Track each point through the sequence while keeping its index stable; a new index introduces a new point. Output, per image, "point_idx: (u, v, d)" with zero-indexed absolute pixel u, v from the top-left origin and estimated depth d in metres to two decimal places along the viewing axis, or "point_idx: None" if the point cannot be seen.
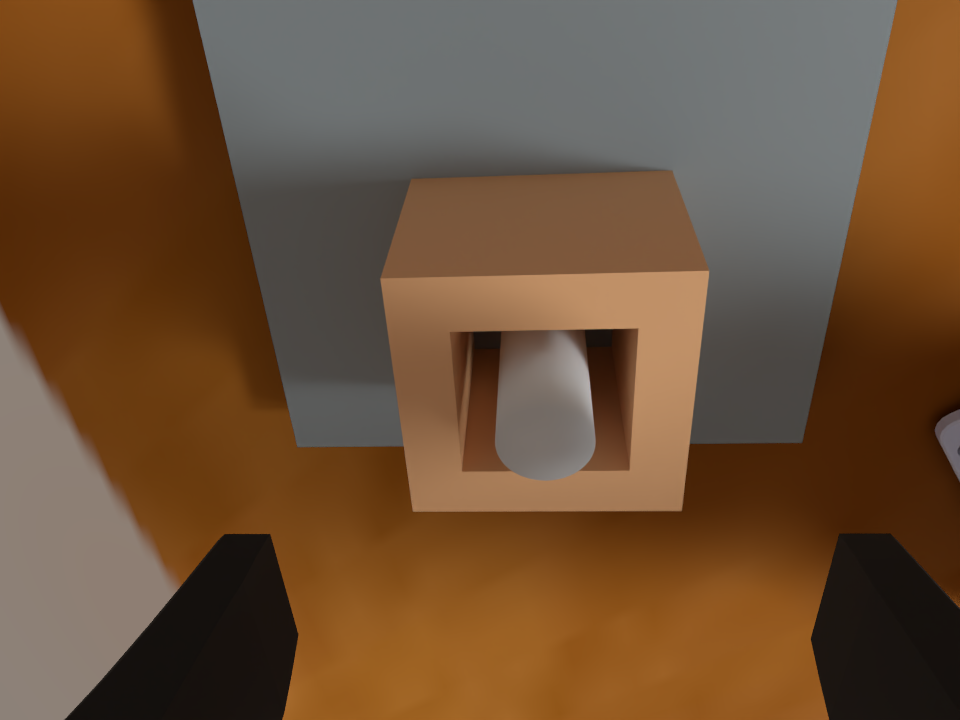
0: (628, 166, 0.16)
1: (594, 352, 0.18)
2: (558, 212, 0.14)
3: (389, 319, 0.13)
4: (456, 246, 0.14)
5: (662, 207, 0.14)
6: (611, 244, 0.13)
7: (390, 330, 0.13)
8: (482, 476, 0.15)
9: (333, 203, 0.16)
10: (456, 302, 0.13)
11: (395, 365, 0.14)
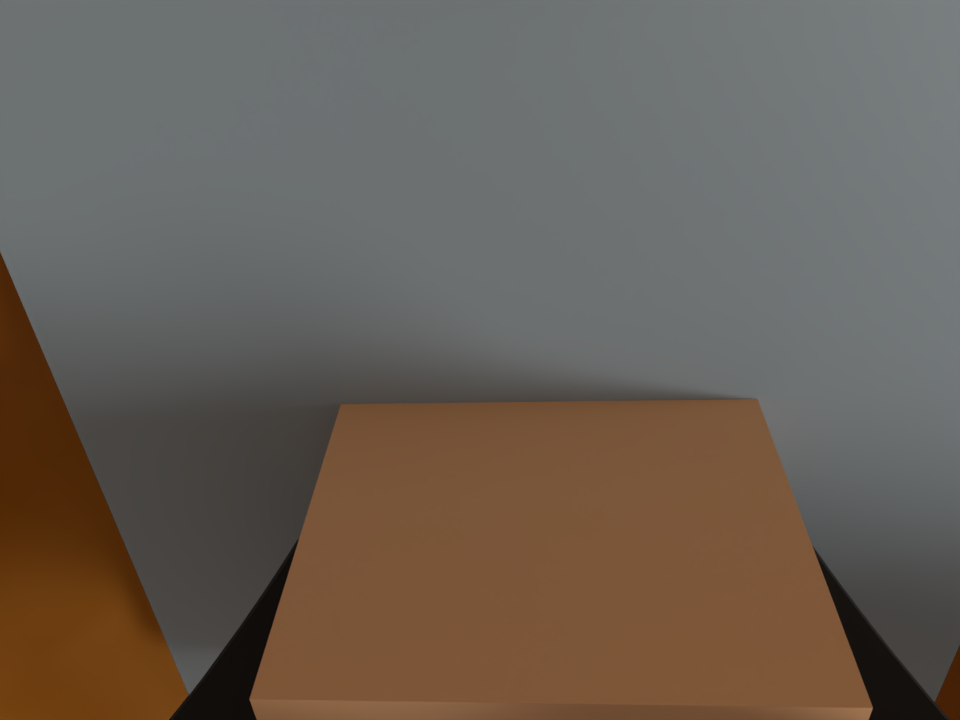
0: (687, 392, 0.10)
1: None
2: (577, 505, 0.08)
3: None
4: (398, 599, 0.08)
5: (754, 498, 0.08)
6: (675, 608, 0.07)
7: None
8: None
9: (221, 434, 0.10)
10: None
11: None
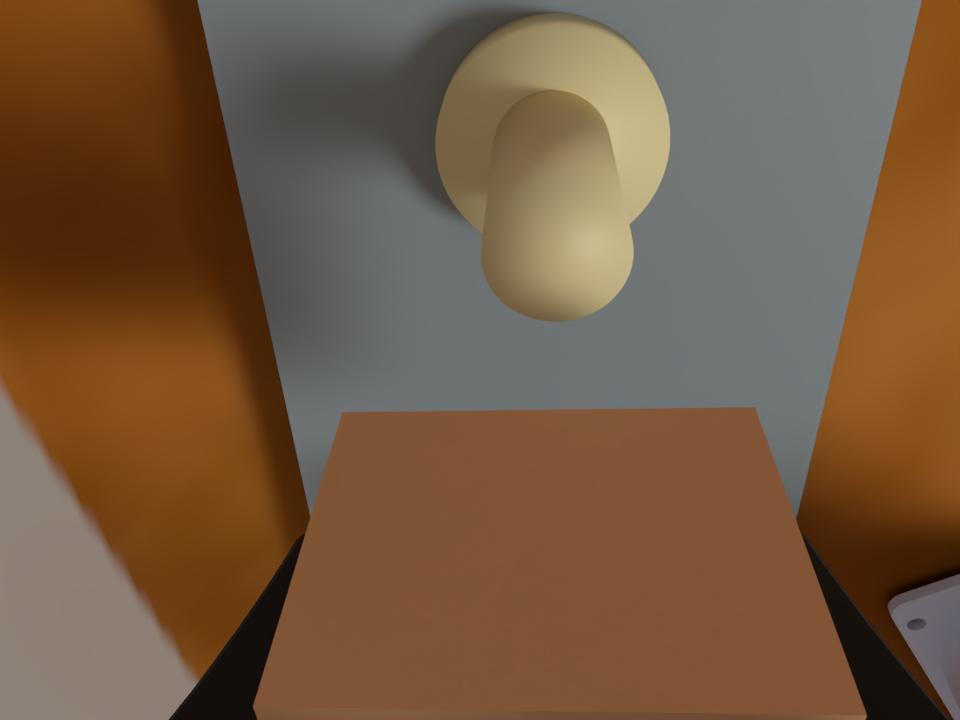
0: None
1: None
2: (576, 513, 0.09)
3: None
4: (399, 607, 0.08)
5: (751, 507, 0.09)
6: (672, 617, 0.07)
7: None
8: None
9: None
10: None
11: None
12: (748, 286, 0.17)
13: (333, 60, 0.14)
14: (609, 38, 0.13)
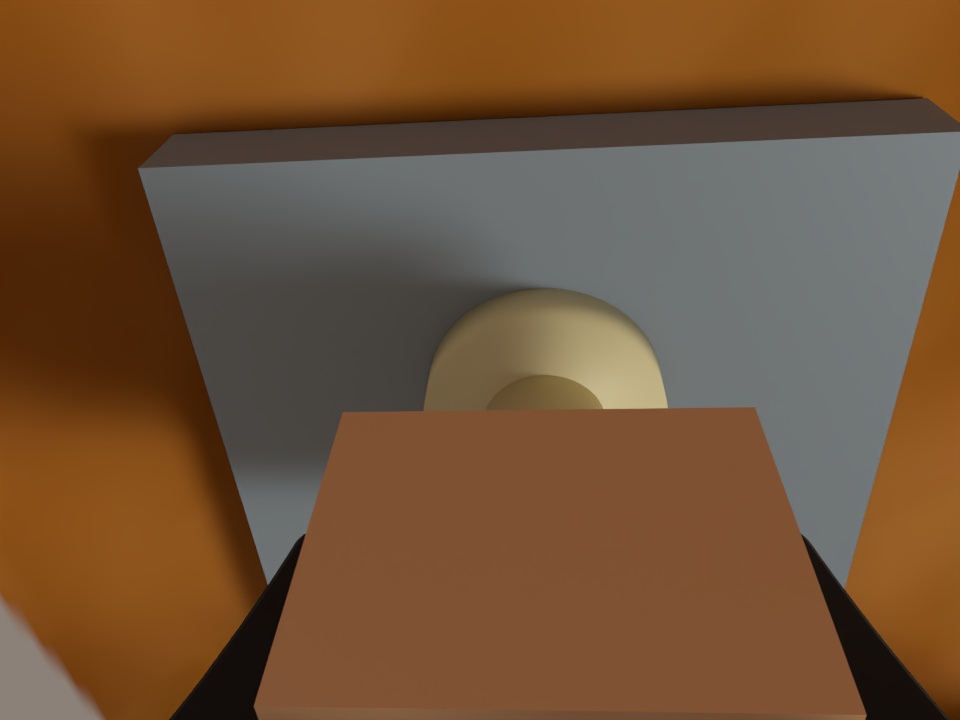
0: None
1: None
2: (576, 513, 0.09)
3: None
4: (399, 607, 0.08)
5: (751, 506, 0.09)
6: (672, 615, 0.07)
7: None
8: None
9: None
10: None
11: None
12: None
13: (315, 330, 0.14)
14: (602, 329, 0.13)
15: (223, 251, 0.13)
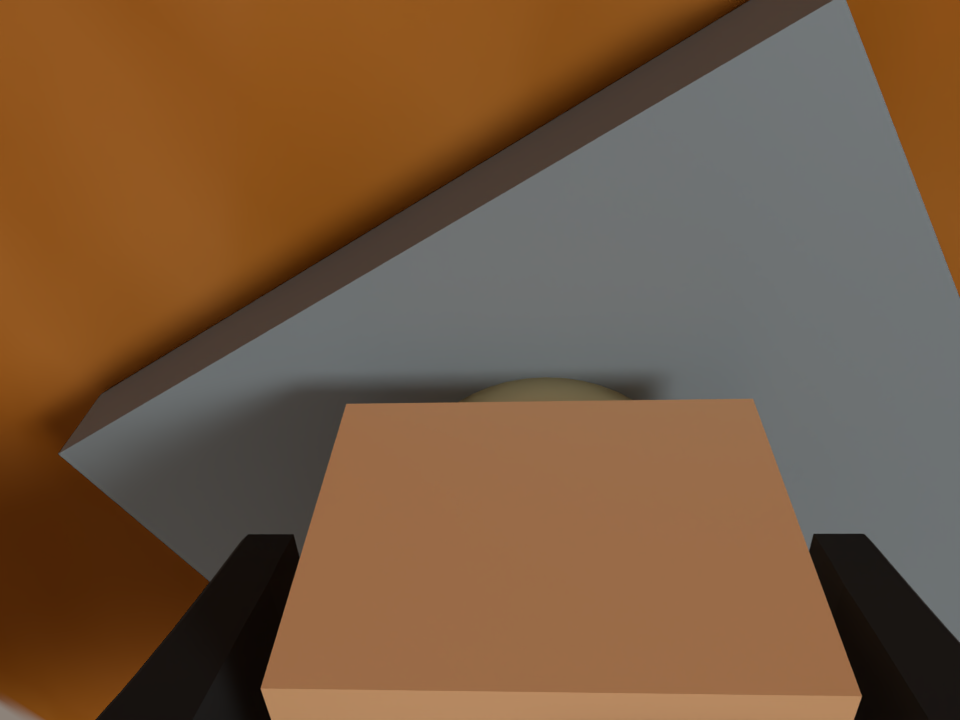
0: None
1: None
2: (577, 501, 0.09)
3: None
4: (403, 592, 0.08)
5: (749, 495, 0.09)
6: (672, 601, 0.08)
7: None
8: None
9: None
10: None
11: None
12: (883, 526, 0.12)
13: (295, 522, 0.13)
14: None
15: (171, 489, 0.13)
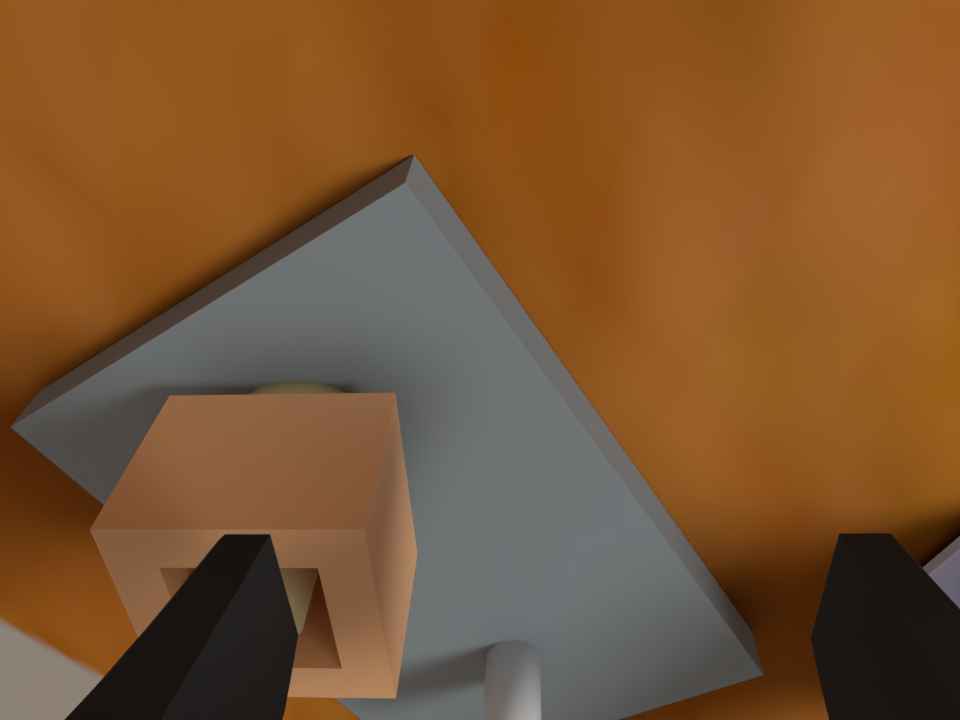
0: (515, 587, 0.23)
1: None
2: (274, 446, 0.16)
3: (105, 557, 0.15)
4: (170, 489, 0.16)
5: (364, 443, 0.16)
6: (299, 492, 0.15)
7: (108, 565, 0.15)
8: None
9: None
10: (158, 547, 0.15)
11: (120, 590, 0.16)
12: (518, 472, 0.20)
13: None
14: None
15: (81, 450, 0.21)
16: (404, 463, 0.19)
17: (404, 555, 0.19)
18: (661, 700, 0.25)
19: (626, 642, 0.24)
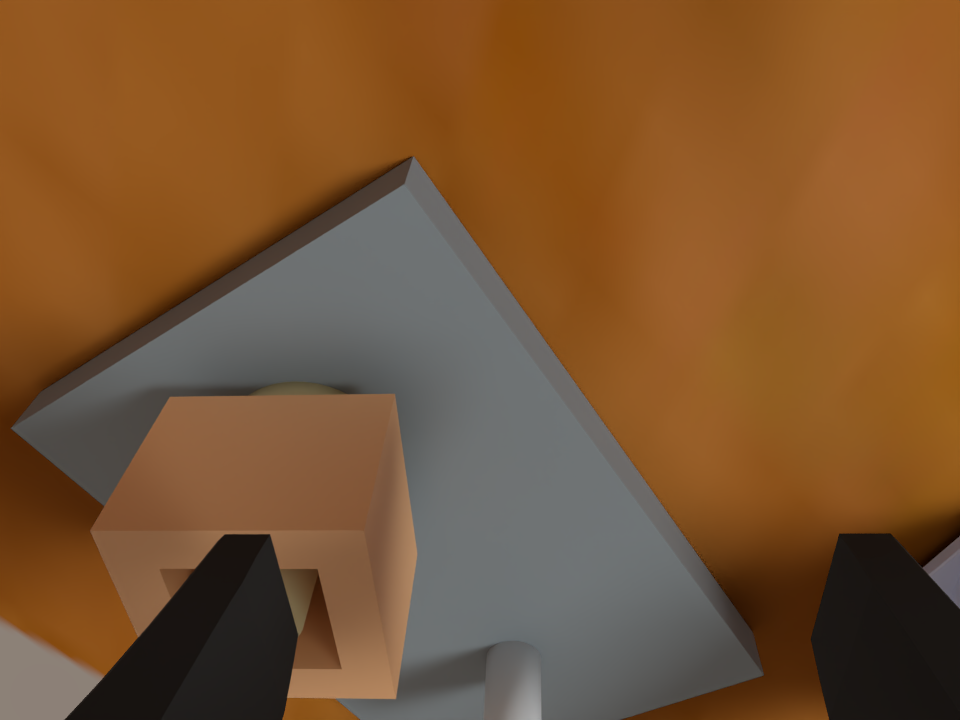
0: (515, 587, 0.23)
1: None
2: (274, 447, 0.17)
3: (105, 558, 0.15)
4: (170, 490, 0.16)
5: (363, 444, 0.16)
6: (299, 493, 0.15)
7: (108, 566, 0.15)
8: None
9: None
10: (158, 548, 0.15)
11: (120, 591, 0.16)
12: (518, 473, 0.20)
13: None
14: None
15: (81, 451, 0.21)
16: (404, 464, 0.19)
17: (404, 556, 0.19)
18: (661, 700, 0.25)
19: (627, 643, 0.24)
